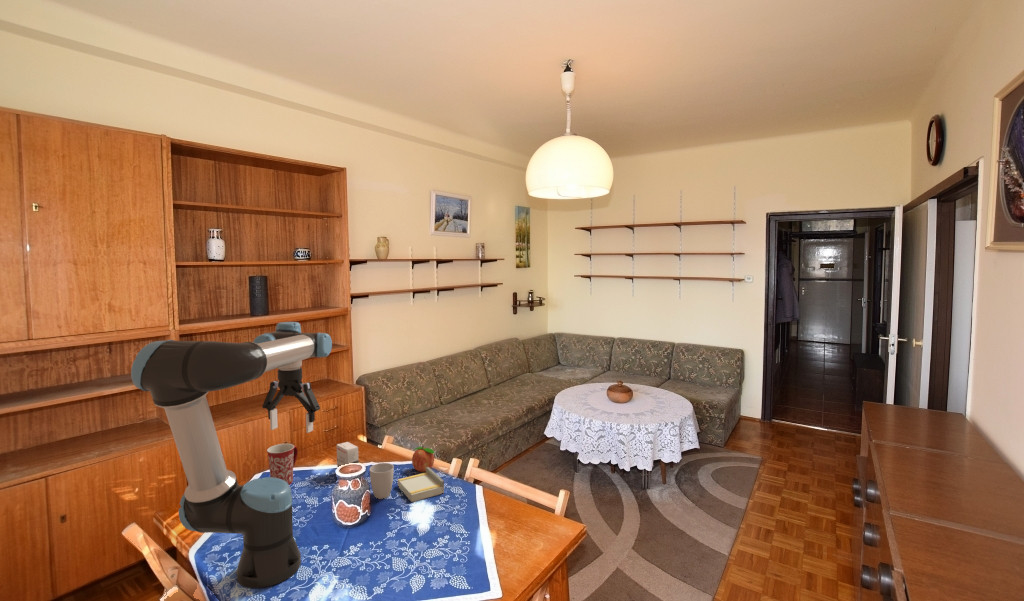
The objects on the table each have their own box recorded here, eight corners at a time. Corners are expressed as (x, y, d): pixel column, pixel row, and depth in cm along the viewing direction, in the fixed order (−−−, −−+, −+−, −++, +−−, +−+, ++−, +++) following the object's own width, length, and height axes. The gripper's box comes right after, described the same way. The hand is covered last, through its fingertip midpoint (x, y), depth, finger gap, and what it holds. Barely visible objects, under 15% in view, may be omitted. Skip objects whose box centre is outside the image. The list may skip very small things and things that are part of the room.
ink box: (359, 476, 185) (359, 446, 184) (347, 480, 181) (347, 450, 180) (348, 470, 191) (347, 440, 190) (336, 474, 187) (335, 444, 186)
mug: (283, 490, 173) (281, 453, 172) (262, 487, 176) (261, 451, 175) (307, 475, 185) (306, 441, 184) (287, 472, 188) (286, 438, 187)
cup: (399, 493, 171) (398, 466, 170) (381, 503, 164) (380, 474, 163) (382, 488, 175) (382, 461, 175) (365, 497, 168) (364, 469, 168)
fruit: (424, 477, 184) (424, 451, 184) (406, 471, 190) (405, 446, 189) (439, 469, 192) (439, 444, 191) (421, 463, 197) (421, 439, 196)
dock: (444, 493, 171) (443, 480, 171) (411, 502, 165) (411, 489, 165) (428, 478, 183) (428, 466, 183) (397, 486, 177) (397, 474, 176)
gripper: (329, 367, 164) (331, 428, 165) (265, 364, 169) (267, 423, 170) (316, 372, 157) (318, 436, 158) (249, 368, 161) (251, 431, 163)
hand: (291, 430), depth 164 cm, fingers open, 13 cm apart
